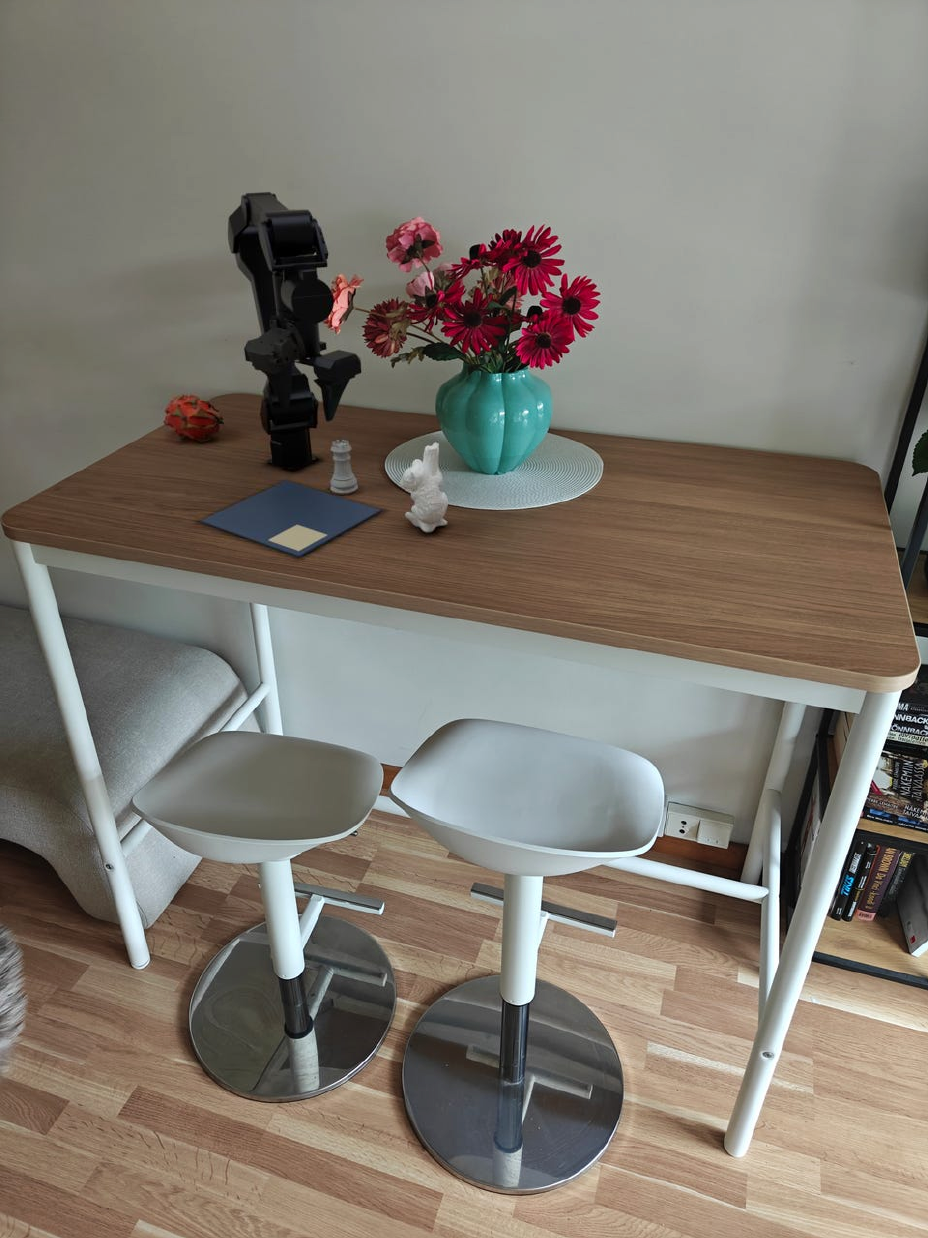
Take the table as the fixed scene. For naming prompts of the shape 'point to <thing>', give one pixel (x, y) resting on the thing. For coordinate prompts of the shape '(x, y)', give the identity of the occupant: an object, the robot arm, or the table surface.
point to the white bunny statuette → (426, 491)
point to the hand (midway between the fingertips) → (307, 414)
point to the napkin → (291, 518)
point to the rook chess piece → (342, 469)
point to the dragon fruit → (192, 417)
